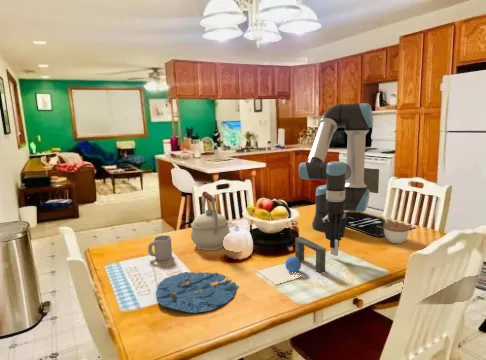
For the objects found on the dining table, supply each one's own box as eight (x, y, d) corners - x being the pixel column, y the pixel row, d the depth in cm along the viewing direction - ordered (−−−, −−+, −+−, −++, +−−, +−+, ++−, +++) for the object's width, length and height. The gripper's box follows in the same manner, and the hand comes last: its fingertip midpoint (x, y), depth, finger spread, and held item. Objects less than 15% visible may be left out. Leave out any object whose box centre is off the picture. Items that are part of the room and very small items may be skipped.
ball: (295, 265, 136) (283, 270, 134) (293, 251, 135) (281, 257, 132) (304, 271, 131) (292, 277, 129) (303, 257, 130) (291, 263, 127)
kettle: (237, 249, 156) (235, 196, 151) (197, 256, 149) (194, 201, 145) (220, 233, 178) (218, 186, 174) (185, 238, 172) (182, 190, 167)
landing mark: (257, 271, 133) (257, 270, 133) (284, 264, 139) (284, 263, 139) (275, 285, 122) (275, 284, 122) (304, 276, 128) (304, 276, 128)
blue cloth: (196, 269, 141) (196, 257, 140) (254, 290, 122) (253, 276, 121) (133, 296, 118) (132, 281, 117) (192, 326, 99) (191, 309, 98)
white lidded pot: (412, 245, 155) (413, 225, 153) (388, 246, 155) (389, 226, 153) (402, 237, 165) (403, 218, 164) (379, 237, 166) (380, 219, 164)
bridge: (319, 273, 130) (319, 249, 128) (295, 260, 143) (295, 238, 141) (325, 272, 131) (325, 248, 129) (301, 258, 144) (301, 236, 142)
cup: (173, 259, 147) (172, 239, 146) (149, 263, 144) (148, 243, 142) (170, 253, 154) (169, 234, 152) (147, 257, 150) (146, 237, 149)
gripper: (329, 204, 132) (328, 261, 136) (354, 199, 138) (352, 254, 142) (316, 200, 138) (316, 254, 143) (340, 196, 144) (339, 248, 149)
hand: (334, 254), depth 142 cm, fingers closed
